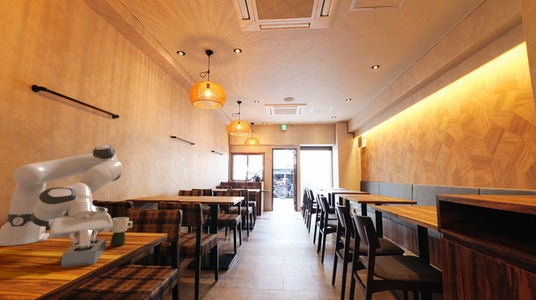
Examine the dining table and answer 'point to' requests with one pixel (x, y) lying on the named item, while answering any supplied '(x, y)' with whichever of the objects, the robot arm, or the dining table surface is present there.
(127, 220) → the character mug
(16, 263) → the dining table surface
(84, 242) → the steel pin
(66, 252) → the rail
